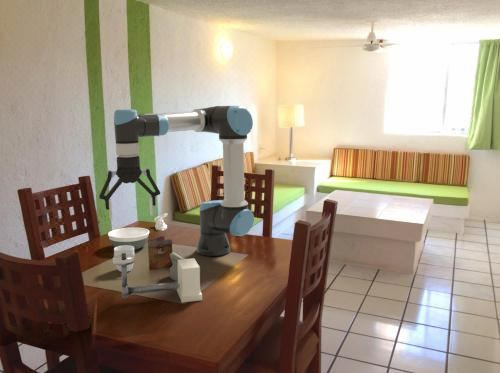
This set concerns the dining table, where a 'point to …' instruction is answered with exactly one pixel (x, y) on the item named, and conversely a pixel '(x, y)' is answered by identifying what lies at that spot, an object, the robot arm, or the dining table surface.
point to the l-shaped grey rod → (126, 291)
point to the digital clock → (174, 266)
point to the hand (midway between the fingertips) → (131, 216)
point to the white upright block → (189, 280)
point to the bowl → (129, 237)
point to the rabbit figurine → (160, 222)
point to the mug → (124, 249)
